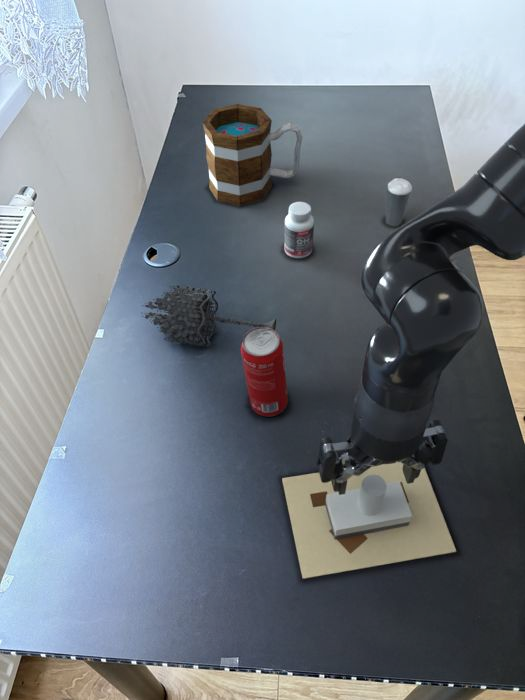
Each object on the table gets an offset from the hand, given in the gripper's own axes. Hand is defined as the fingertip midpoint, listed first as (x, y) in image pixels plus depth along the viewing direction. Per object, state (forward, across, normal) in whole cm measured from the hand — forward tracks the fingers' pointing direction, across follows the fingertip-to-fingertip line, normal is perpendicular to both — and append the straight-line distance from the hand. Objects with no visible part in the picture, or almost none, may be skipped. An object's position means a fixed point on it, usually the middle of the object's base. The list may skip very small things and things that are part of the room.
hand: (374, 482), depth 73 cm
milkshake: (+9, +22, +59) cm, 63 cm away
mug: (+9, -3, +76) cm, 76 cm away
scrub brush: (+8, 0, 0) cm, 8 cm away
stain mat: (+9, 0, 0) cm, 9 cm away
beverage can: (+9, -10, +20) cm, 24 cm away
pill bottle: (+9, +2, +54) cm, 55 cm away
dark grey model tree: (+9, -17, +35) cm, 40 cm away
